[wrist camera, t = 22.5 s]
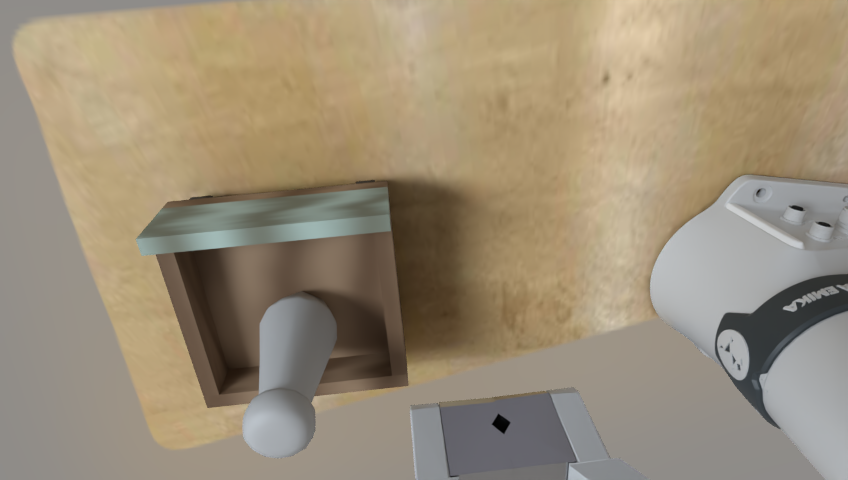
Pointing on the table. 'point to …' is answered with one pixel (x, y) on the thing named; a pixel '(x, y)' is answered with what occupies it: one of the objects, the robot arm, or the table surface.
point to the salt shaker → (289, 374)
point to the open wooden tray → (282, 281)
